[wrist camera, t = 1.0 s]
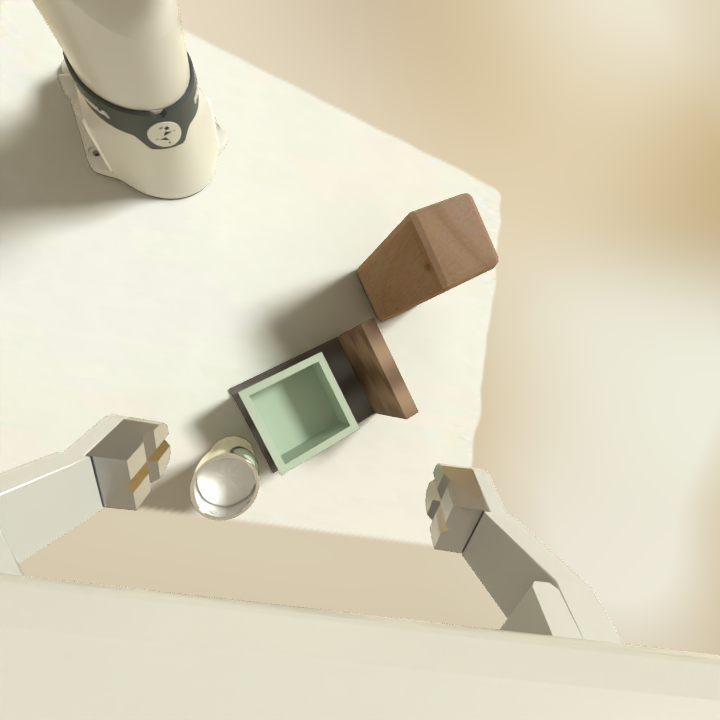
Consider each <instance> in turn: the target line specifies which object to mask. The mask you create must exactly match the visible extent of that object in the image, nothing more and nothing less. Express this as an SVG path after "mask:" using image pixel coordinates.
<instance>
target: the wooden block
mask: <svg viewBox="0 0 720 720" xmlns="http://www.w3.org/2000/svg"><path fill="white" fill-rule="evenodd" d="M497 263H498V256H497V253H496V251H495V249H494V247H493V244H492V242H491V240H490V237H489V235H488V233H487V230H486V228H485V226H484V223H483V221H482V219H481V217H480V214H479V212H478V210H477V207H476V205H475V203H474V200H473V198H472V197H471V196H470V194H467V193H465V194H461V195H458V196H455V197H452V198H449V199H447V200H444V201H441V202H438V203H435V204H433V205H430V206H427V207H424V208H421V209H418V210H416V211H413V212H410V213H409V214H408V215H407V216H406V217H405V218H404V220H403V221H402V222H401V223H400V224H399V225H398V226H397V227H396V228H395V229H394V230H393V231H392V232H391V233H390V235H389V236H388V237H387V238H386V239H385V240H384V241H383V242H382V243H381V244H380V245H379V246H378V247H377V249H376V250H375V251H374V252H373V253H372V254H371V255H370V256H369V257H368V258H367V259H366V260H365V261H364V262H363V264H362V265H361V266H360V267H359V268H358V269H357V274H358V277H359V279H360V281H361V283H362V285H363V287H364V289H365V291H366V294H367V296H368V298H369V300H370V302H371V304H372V306H373V309H374V311H375V313H376V315H377V317H378V318H379V320H387V319H389V318H391V317H393V316H396V315H398V314H400V313H402V312H404V311H406V310H408V309H410V308H412V307H414V306H417V305H419V304H421V303H423V302H425V301H427V300H429V299H431V298H433V297H435V296H437V295H439V294H441V293H443V292H445V291H448V290H450V289H452V288H454V287H456V286H458V285H460V284H462V283H464V282H466V281H468V280H470V279H472V278H474V277H476V276H478V275H480V274H483V273H485V272H487V271H489V270H491V269H493V268H494V267H495V265H496V264H497Z"/></svg>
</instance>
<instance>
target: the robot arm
mask: <svg viewBox="0 0 720 720" xmlns="http://www.w3.org/2000/svg"><path fill="white" fill-rule="evenodd" d="M32 1H33V2H34V4H35V5H36V7H37V9H38V10H39V12H40V13H41V15H42V16H43V18H44V20H45V21H46V23H47V25H48V26H49V28H50V29H51V31H52V33H53V34H54V36H55V38H56V39H57V41H58V43H59V45H60V46H61V48H62V50H63V55H64V60H63V61H62V63H61V67H62V71H63V74H59V75H58V78H59V81H60V83H61V86H62V88H63V90H64V92H65V94H66V96H67V97H68V98H70V99H71V105H72V107H73V110H74V113H75V117H76V120H77V124H78V127H79V131H80V134H81V138H82V141H83V145H84V149H85V152H86V156H87V159H88V162H89V164H90V166H91V168H92V169H93V170H94V171H95V172H97V173H99V174H102V175H106V176H109V177H113V178H117V179H120V180H122V181H123V182H125V183H127V184H128V185H130V186H131V187H133V188H135V189H136V190H138V191H140V192H143V193H145V194H148V195H151V196H154V197H159V198H169V199H174V198H183V197H187V196H190V195H193V194H195V193H197V192H199V191H200V190H202V189H203V188H204V187H206V186H207V185H208V183H209V182H210V181H211V179H212V178H213V176H214V174H215V171H216V168H217V162H218V157H219V154H220V153H221V152H222V151H223V149H224V148H225V146H226V145H227V142H228V139H227V134H226V132H225V131H224V129H223V128H222V126H221V125H220V124H219V122H218V121H217V120H216V118H215V117H214V115H213V110H212V105H211V102H210V99H209V98H208V97H206V96H205V95H204V93H203V92H202V90H201V89H200V88H199V86H198V83H197V78H196V73H195V70H194V68H193V64H192V61H191V58H190V56H189V54H188V52H187V50H186V45H185V39H184V34H183V28H182V22H181V17H180V11H179V5H178V0H32ZM97 153H99V154H100V155H99V156H95V154H97ZM168 434H169V432H168V426H167V424H165V423H162V422H156V421H150V420H144V419H139V418H133V417H124V416H119V415H113V414H111V415H108V416H105V417H104V418H103V419H102V420H100V421H99V422H98V423H97V424H96V425H95V426H93V427H92V428H91V429H90V430H89V431H88V432H86V433H85V434H84V435H83V436H82V437H81V438H79V439H78V440H77V441H76V442H75V443H73V444H72V445H71V446H70V447H69V448H68V449H66V450H65V451H64V452H63V453H59V452H55V453H53V454H50V455H48V456H45V457H42V458H40V459H37V460H34V461H32V462H29V463H26V464H24V465H21V466H18V467H16V468H13V469H11V470H8V471H5V472H3V473H0V720H720V655H718V654H709V653H700V652H691V651H682V650H674V649H665V648H655V647H647V646H638V645H630V644H623V642H622V640H621V638H620V636H619V635H618V633H617V631H616V629H615V628H614V626H613V624H612V622H611V621H610V619H609V617H608V616H607V614H606V612H605V610H604V608H603V607H602V605H601V603H600V602H599V600H598V598H597V596H596V595H595V593H594V591H593V589H592V588H591V586H589V584H587V583H586V582H585V581H584V580H583V579H582V578H581V577H580V576H579V575H578V574H576V573H575V572H574V571H573V570H572V569H571V568H570V567H569V566H568V565H566V564H565V563H564V562H563V561H562V560H561V559H560V558H559V557H558V556H556V555H555V554H554V553H553V552H552V551H551V550H550V549H549V548H548V547H547V546H546V545H545V544H543V543H542V542H541V541H540V540H539V539H538V538H537V537H536V536H535V535H534V534H532V533H531V532H530V531H529V530H528V529H527V528H526V527H525V526H524V525H523V524H521V523H520V522H519V521H518V520H517V519H516V518H515V517H514V516H513V515H508V514H507V512H506V510H505V508H504V506H503V503H502V501H501V499H500V496H499V494H498V492H497V490H496V487H495V485H494V483H493V481H492V479H491V476H490V474H489V472H488V471H487V470H486V469H478V468H468V467H462V466H454V465H447V464H440V463H438V464H437V465H436V467H435V469H434V472H433V474H434V478H435V479H434V480H433V481H431V482H430V483H429V485H428V488H427V491H426V499H425V501H426V511H427V515H428V516H429V517H430V518H431V519H432V523H431V526H430V532H431V537H432V542H433V547H434V549H437V550H444V551H450V552H456V553H462V556H463V557H464V558H465V560H466V561H467V563H468V564H469V565H470V567H471V568H472V570H473V571H474V572H475V574H476V575H477V577H478V578H479V579H480V581H481V582H482V584H483V585H484V586H485V588H486V589H487V590H488V592H489V593H490V595H491V596H492V597H493V599H494V600H495V602H496V603H497V604H498V606H499V607H500V609H501V610H502V611H503V613H504V614H505V616H506V617H507V618H508V619H507V620H506V622H505V624H504V625H503V626H502V627H501V629H500V630H498V629H489V628H480V627H470V626H463V625H454V624H445V623H436V622H427V621H419V620H410V619H401V618H392V617H383V616H374V615H366V614H357V613H348V612H339V611H330V610H321V609H313V608H304V607H295V606H286V605H277V604H268V603H259V602H251V601H240V600H233V599H223V598H215V597H206V596H198V595H189V594H180V593H171V592H162V591H154V590H145V589H136V588H127V587H118V586H110V585H100V584H92V583H83V582H75V581H65V580H57V579H48V578H39V577H31V576H24V574H23V572H22V570H21V568H20V566H19V564H18V563H20V562H21V561H23V560H25V559H26V558H28V557H29V556H31V555H32V554H34V553H35V552H37V551H38V550H40V549H42V548H43V547H45V546H46V545H48V544H49V543H51V542H53V541H54V540H56V539H57V538H59V537H60V536H62V535H63V534H65V533H67V532H68V531H70V530H71V529H73V528H74V527H76V526H77V525H79V524H81V523H82V522H84V521H85V520H87V519H88V518H90V517H91V516H93V515H94V514H96V513H98V512H99V511H100V510H102V509H103V507H107V508H117V509H127V510H137V509H138V508H139V506H140V505H141V504H142V502H143V501H144V499H145V498H146V497H147V495H148V494H149V493H150V491H151V487H150V483H151V482H153V481H155V480H157V479H159V478H160V477H161V476H162V474H163V473H164V471H165V470H166V468H167V465H168V463H169V460H170V453H171V451H170V445H169V444H168V443H167V442H166V441H165V438H166V437H167V435H168Z"/></svg>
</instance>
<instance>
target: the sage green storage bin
mask: <svg viewBox="0 0 720 720" xmlns="http://www.w3.org/2000/svg"><path fill="white" fill-rule="evenodd" d="M238 394H239V395H240V397H241V399H242V401H243V403H244V405H245V407H246V409H247V411H248V413H249V415H250V416H251V418H252V420H253V422H254V424H255V426H256V428H257V430H258V432H259V434H260V436H261V438H262V439H263V441H264V443H265V445H266V447H267V449H268V451H269V453H270V455H271V457H272V459H273V461H274V462H275V464H276V466H277V468H278V470H279V472H280V474H281V475H283V474H285V473H286V472H288V471H290V470H291V469H293V468H295V467H296V466H298V465H300V464H301V463H303V462H305V461H306V460H308V459H310V458H311V457H313V456H315V455H316V454H318V453H320V452H321V451H323V450H325V449H326V448H328V447H330V446H331V445H333V444H335V443H336V442H338V441H340V440H341V439H343V438H345V437H346V436H348V435H350V434H351V433H353V432H355V431H356V430H358V429H360V428H359V426H358V424H357V422H356V420H355V418H354V416H353V414H352V412H351V410H350V408H349V406H348V404H347V402H346V400H345V398H344V396H343V394H342V392H341V390H340V388H339V386H338V384H337V382H336V380H335V378H334V376H333V374H332V372H331V370H330V368H329V365H328V363H327V361H326V359H325V357H324V355H323V353H322V352H320V353H318V354H316V355H314V356H312V357H310V358H308V359H306V360H303V361H301V362H299V363H297V364H295V365H293V366H291V367H289V368H287V369H285V370H283V371H281V372H279V373H277V374H275V375H273V376H271V377H269V378H267V379H265V380H262V381H260V382H258V383H256V384H254V385H252V386H250V387H248V388H246V389H244V390H242V391H240V392H238Z"/></svg>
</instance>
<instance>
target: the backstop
mask: <svg viewBox="0 0 720 720" xmlns="http://www.w3.org/2000/svg"><path fill="white" fill-rule="evenodd" d="M320 352H322V353H323V355H324V357H325V359H326V361H327V363H328V365H329V368H330V370H331V372H332V374H333V376H334V378H335V380H336V382H337V384H338V386H339V388H340V390H341V392H342V394H343V396H344V398H345V400H346V402H347V404H348V406H349V408H350V410H351V412H352V414H353V416H354V418H355V420H356V422H357V423H359V422H360V421H362V420H364V419H365V418H367V417H369V416H370V415H372V414H374V413H377V414H382V415H387V416H392V417H398V418H403V419H408V418H410V417H411V416H413V415H415V414H416V413H418V410H417V408H416V405H415V403H414V401H413V399H412V397H411V395H410V393H409V391H408V389H407V387H406V385H405V382H404V380H403V378H402V376H401V374H400V372H399V370H398V368H397V366H396V364H395V362H394V360H393V357H392V355H391V353H390V351H389V349H388V347H387V345H386V343H385V341H384V339H383V337H382V334H381V332H380V330H379V328H378V326H377V324H376V322H375V320H374V318H372V319H370V320H368V321H366V322H364V323H362V324H360V325H358V326H356V327H355V328H353V329H351V330H349V331H347V332H346V333H344V334H342V335H340V336H338V337H337V338H335V339H332V340H330V341H328V342H326V343H324V344H322V345H320V346H318V347H316V348H314V349H312V350H310V351H307V352H305V353H303V354H301V355H299V356H297V357H295V358H293V359H291V360H289V361H287V362H284V363H282V364H280V365H278V366H276V367H274V368H272V369H270V370H268V371H266V372H264V373H262V374H259V375H257V376H255V377H253V378H251V379H249V380H247V381H245V382H243V383H241V384H239V385H237V386H234V387H232V388H230V391H231V393H232V395H233V397H234V399H235V401H236V403H237V405H238V406H239V408H240V410H241V412H242V414H243V416H244V418H245V420H246V422H247V424H248V426H249V427H250V429H251V431H252V433H253V435H254V437H255V439H256V441H257V443H258V445H259V446H260V448H261V450H262V452H263V454H264V456H265V458H266V460H267V462H268V464H269V466H270V467H271V469H272V471H273V473H274V472H276V471H278V468H277V466H276V464H275V462H274V461H273V459H272V457H271V455H270V453H269V451H268V449H267V447H266V445H265V443H264V441H263V439H262V438H261V436H260V434H259V432H258V430H257V428H256V426H255V424H254V422H253V420H252V418H251V416H250V415H249V413H248V411H247V409H246V407H245V405H244V403H243V401H242V399H241V397H240V395H239V394H238V392H240V391H242V390H244V389H246V388H248V387H250V386H252V385H254V384H256V383H258V382H260V381H262V380H265V379H267V378H269V377H271V376H273V375H275V374H277V373H279V372H281V371H283V370H285V369H287V368H289V367H291V366H293V365H295V364H297V363H299V362H301V361H303V360H306V359H308V358H310V357H312V356H314V355H316V354H318V353H320Z"/></svg>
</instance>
